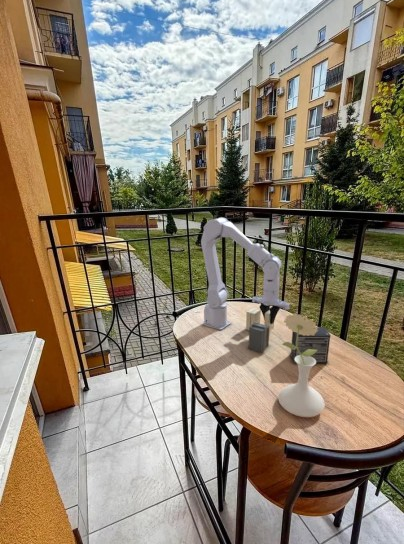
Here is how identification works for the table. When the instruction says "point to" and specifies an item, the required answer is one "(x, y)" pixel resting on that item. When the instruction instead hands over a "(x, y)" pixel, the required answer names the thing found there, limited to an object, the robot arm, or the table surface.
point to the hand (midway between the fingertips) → (269, 322)
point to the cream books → (252, 317)
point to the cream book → (268, 320)
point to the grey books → (258, 337)
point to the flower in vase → (301, 374)
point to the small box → (313, 345)
